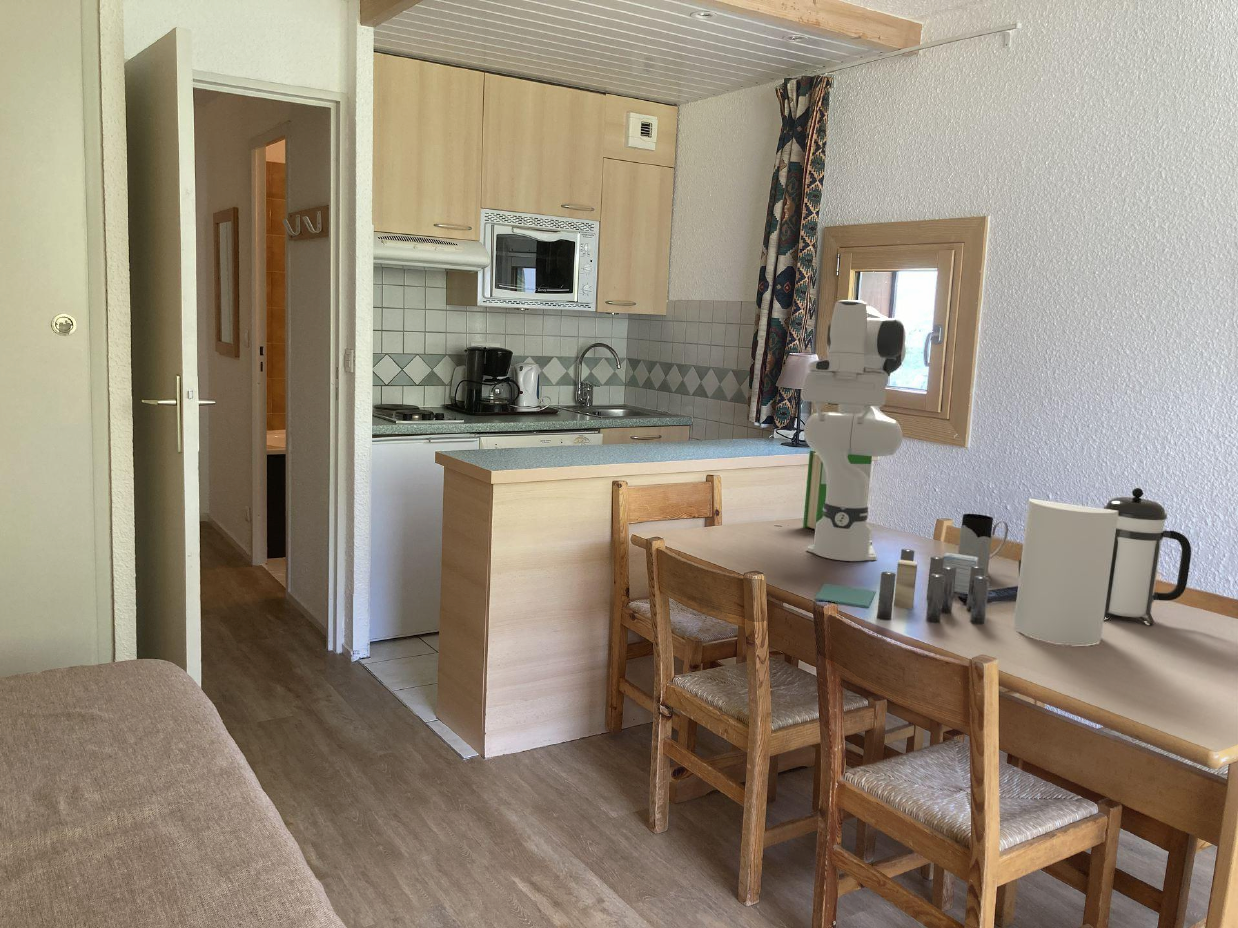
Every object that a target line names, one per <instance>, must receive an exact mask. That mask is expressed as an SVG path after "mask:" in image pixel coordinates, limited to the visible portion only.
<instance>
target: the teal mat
mask: <svg viewBox="0 0 1238 928" xmlns="http://www.w3.org/2000/svg"><path fill="white" fill-rule="evenodd" d="M875 595H876V590H870V589H863V588H857V587H850V586H843V585H838V584H837V585H836V584H829V583H824V584H823V586H822V587H821V589H820V590H819V591H818V593H817V594H816V595H815V596H814V600H815V601H819V600H826V601H832V602H835V603H834V604H839V605H845V606H853V607H860V608H864V609H865V608H866V609H869V608H870V605H871V604H872V601H873V600H874V597H875ZM832 602H831V603H832Z"/></svg>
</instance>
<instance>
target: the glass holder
mask: <svg viewBox="0 0 1238 928" xmlns="http://www.w3.org/2000/svg"><path fill="white" fill-rule="evenodd" d="M961 521H962V522H961V526H960V532H959V533H960V534H959V541H958V549H957V554H960V555H967V556H973V557H978V566H982V567H985V574H984V576H985V577H989V576H990V573H989V563H990V560H991V559H992V558H993V557H994V556H995V555H996V554H997V553H998V552H999V551H1000V550H1002V548H1003V546H1004V545H1005V543H1006V541H1007V538H1008V532H1009V525H1008V523H1006V521H1003V520H999V521H997V522H995V524H994V523H993V522H994V517H992V516H989V515H985V514H979V513H963V514H962V520H961ZM1000 523H1003V524H1004V526H1005V532H1004V537H1003V540H1002V542H1000V545H999V546H998V548H996V550H995V551H994V552H993V553H991V547H992V540H993V539H992V538H993V537H994V536H995V534H996V529H997V526H998V525H1000ZM993 524H994V525H993ZM988 575H989V576H988Z"/></svg>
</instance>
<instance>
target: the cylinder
mask: <svg viewBox="0 0 1238 928" xmlns="http://www.w3.org/2000/svg"><path fill="white" fill-rule="evenodd" d="M1025 518H1026V521H1025V528H1024V534H1023V535H1024V536H1023V544H1022V551H1021V558H1020V559H1021V567H1020V576H1019V575H1018V586H1017V593H1016V601H1015V610H1014V616H1013V617H1014V618H1013V626H1014V627H1015V629H1016V630H1019V631H1020V632H1022V633H1024V634H1027V635H1028V636H1032V637H1035V638H1038V639H1042V640H1045V641H1050V642H1054V643H1061V644H1068V645H1087V644H1093V643H1097V642H1099V641H1100V640H1101V641H1102V634H1103V626H1104V621H1105V620H1104V614H1105V606H1106V599H1107V592H1108V584H1109V577H1110V570H1111V562H1112V555H1113V548H1114V540H1115V533H1116V526H1117V518H1118V511H1116V510H1109V509H1104V508H1102V507H1101V508H1100V507H1093V506H1086V505H1079V504H1071V503H1065V502H1064V503H1063V502H1058V501H1057V502H1056V501H1050V500H1042V499H1035V498H1028V503H1027V512H1026V517H1025ZM1013 626H1012V627H1013ZM1015 629H1014V630H1015ZM1016 630H1015V631H1016Z"/></svg>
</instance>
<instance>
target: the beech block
mask: <svg viewBox="0 0 1238 928" xmlns="http://www.w3.org/2000/svg"><path fill="white" fill-rule="evenodd" d="M917 571H918V561H914V560H913V561H906V560H900V559H899V560H898V562H897V569H896V577H895V587H894V596H893V607H897V608H903V609H904V608H905V609H909V610H912V609H913V606H914V601H915V592H916V591H915V590H916V589H915V588H916V580H917V579H916V578H917Z"/></svg>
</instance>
